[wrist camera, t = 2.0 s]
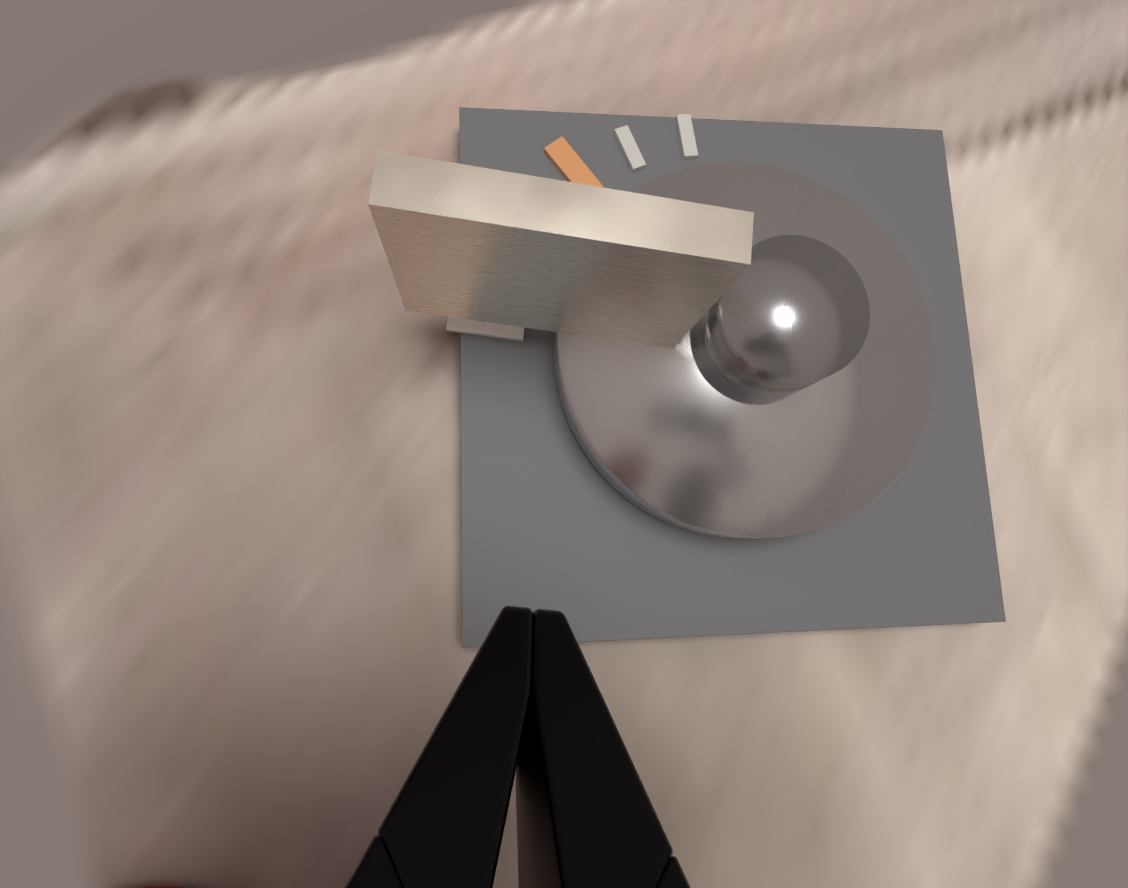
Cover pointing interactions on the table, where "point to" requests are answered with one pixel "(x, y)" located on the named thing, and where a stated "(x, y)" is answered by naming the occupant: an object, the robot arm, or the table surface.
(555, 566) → the panel
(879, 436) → the dial
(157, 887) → the canned food
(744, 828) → the table surface
